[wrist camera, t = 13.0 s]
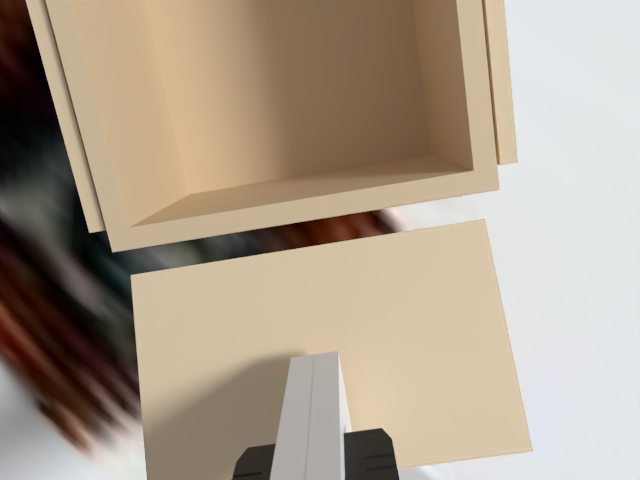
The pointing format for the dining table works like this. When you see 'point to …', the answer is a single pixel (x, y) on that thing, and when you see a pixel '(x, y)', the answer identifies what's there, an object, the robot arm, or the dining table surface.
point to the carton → (273, 108)
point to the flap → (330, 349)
